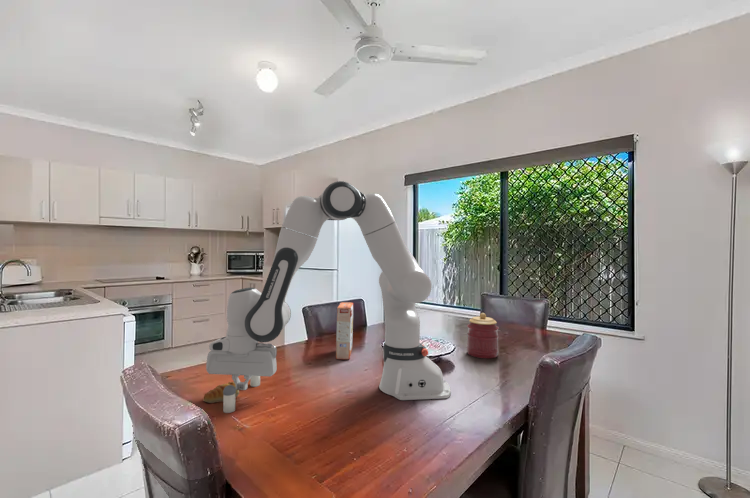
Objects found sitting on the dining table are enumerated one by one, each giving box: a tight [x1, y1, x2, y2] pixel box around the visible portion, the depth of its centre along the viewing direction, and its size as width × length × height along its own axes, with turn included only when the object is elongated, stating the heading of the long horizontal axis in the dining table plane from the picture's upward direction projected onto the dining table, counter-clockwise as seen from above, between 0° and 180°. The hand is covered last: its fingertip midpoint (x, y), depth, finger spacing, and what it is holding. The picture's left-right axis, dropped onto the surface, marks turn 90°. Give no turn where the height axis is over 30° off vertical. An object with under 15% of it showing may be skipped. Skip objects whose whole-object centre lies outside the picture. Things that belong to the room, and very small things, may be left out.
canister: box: [466, 312, 500, 359], centre depth 152 cm, size 13×13×18 cm
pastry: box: [202, 381, 240, 404], centre depth 105 cm, size 9×7×4 cm
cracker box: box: [335, 301, 354, 361], centre depth 148 cm, size 14×6×21 cm, turn 179°
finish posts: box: [222, 376, 261, 414], centre depth 106 cm, size 3×21×7 cm, turn 177°
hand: (241, 389), depth 106 cm, fingers closed
